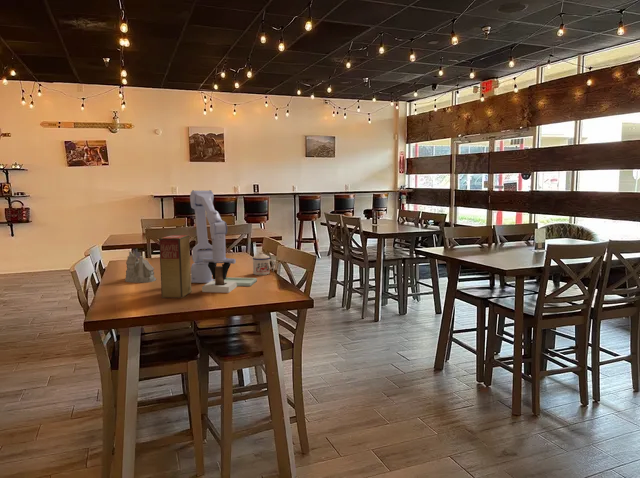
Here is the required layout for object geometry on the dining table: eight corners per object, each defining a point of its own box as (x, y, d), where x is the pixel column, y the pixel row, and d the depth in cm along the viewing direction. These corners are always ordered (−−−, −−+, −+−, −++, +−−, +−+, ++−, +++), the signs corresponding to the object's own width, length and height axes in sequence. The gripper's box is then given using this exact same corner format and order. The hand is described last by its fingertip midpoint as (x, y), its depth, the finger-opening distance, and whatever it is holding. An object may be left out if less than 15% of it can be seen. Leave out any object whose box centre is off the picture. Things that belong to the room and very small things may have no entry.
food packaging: (171, 291, 208) (169, 234, 205) (192, 291, 208) (190, 234, 205) (160, 298, 195) (158, 238, 192) (182, 298, 195) (180, 238, 192)
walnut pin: (214, 287, 210) (213, 267, 209) (216, 285, 214) (216, 265, 213) (222, 287, 209) (222, 267, 208) (225, 285, 213) (225, 266, 212)
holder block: (202, 291, 206) (202, 286, 206) (211, 286, 218) (211, 280, 218) (228, 292, 205) (228, 287, 205) (236, 286, 217) (236, 281, 217)
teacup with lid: (255, 275, 244) (254, 253, 242) (251, 272, 252) (250, 251, 251) (277, 274, 248) (277, 252, 247) (272, 271, 256) (272, 250, 255)
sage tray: (217, 285, 220) (217, 282, 220) (225, 280, 232) (224, 277, 232) (250, 286, 218) (250, 283, 218) (256, 281, 230) (256, 278, 230)
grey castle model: (145, 283, 224) (145, 251, 223) (117, 282, 229) (116, 251, 228) (166, 279, 239) (165, 249, 238) (139, 278, 244) (138, 249, 243)
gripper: (200, 249, 206) (200, 280, 208) (232, 250, 205) (232, 281, 206) (205, 247, 213) (206, 277, 215) (236, 248, 212) (237, 278, 213)
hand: (219, 279), depth 211 cm, fingers closed on walnut pin, 4 cm apart
